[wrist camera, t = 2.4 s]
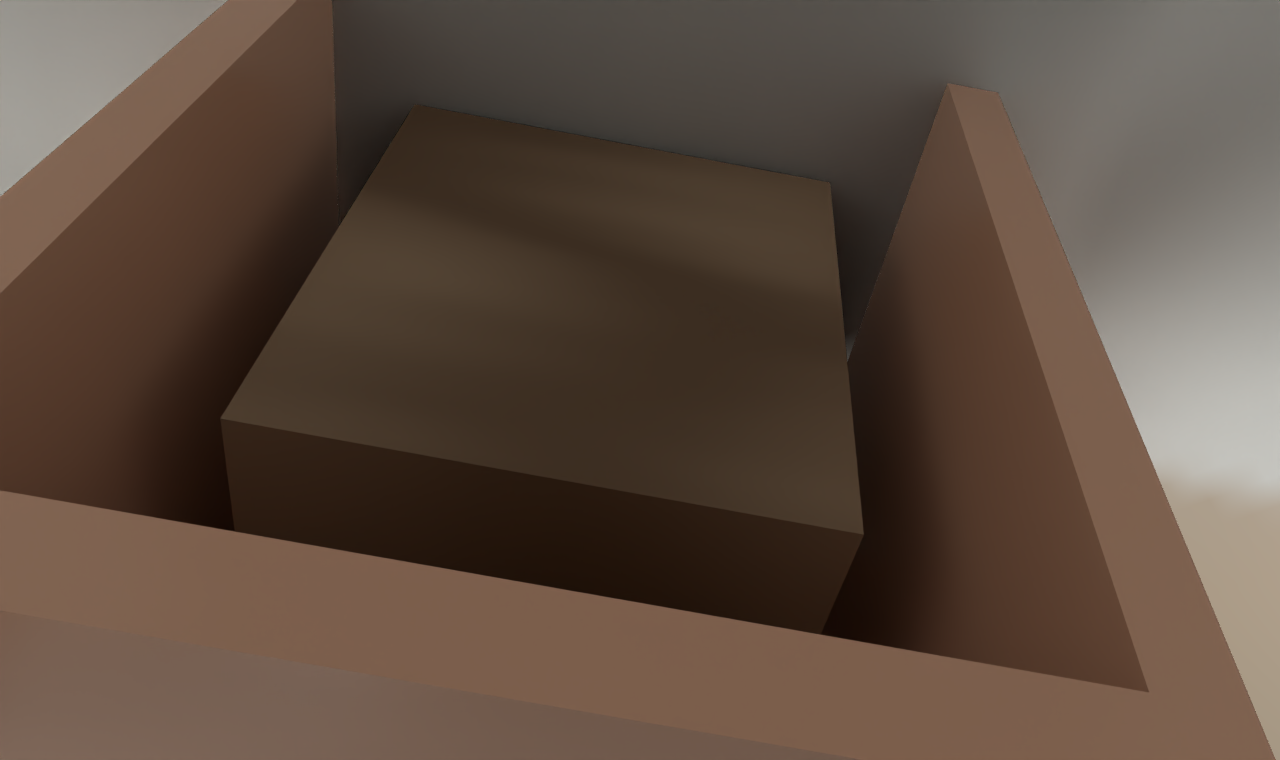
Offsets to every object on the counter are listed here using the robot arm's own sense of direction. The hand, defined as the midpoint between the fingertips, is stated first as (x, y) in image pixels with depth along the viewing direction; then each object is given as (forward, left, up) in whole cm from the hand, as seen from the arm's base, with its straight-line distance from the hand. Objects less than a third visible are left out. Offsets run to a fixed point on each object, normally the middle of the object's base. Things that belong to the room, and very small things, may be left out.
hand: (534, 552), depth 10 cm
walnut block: (0, 0, -4) cm, 4 cm away
